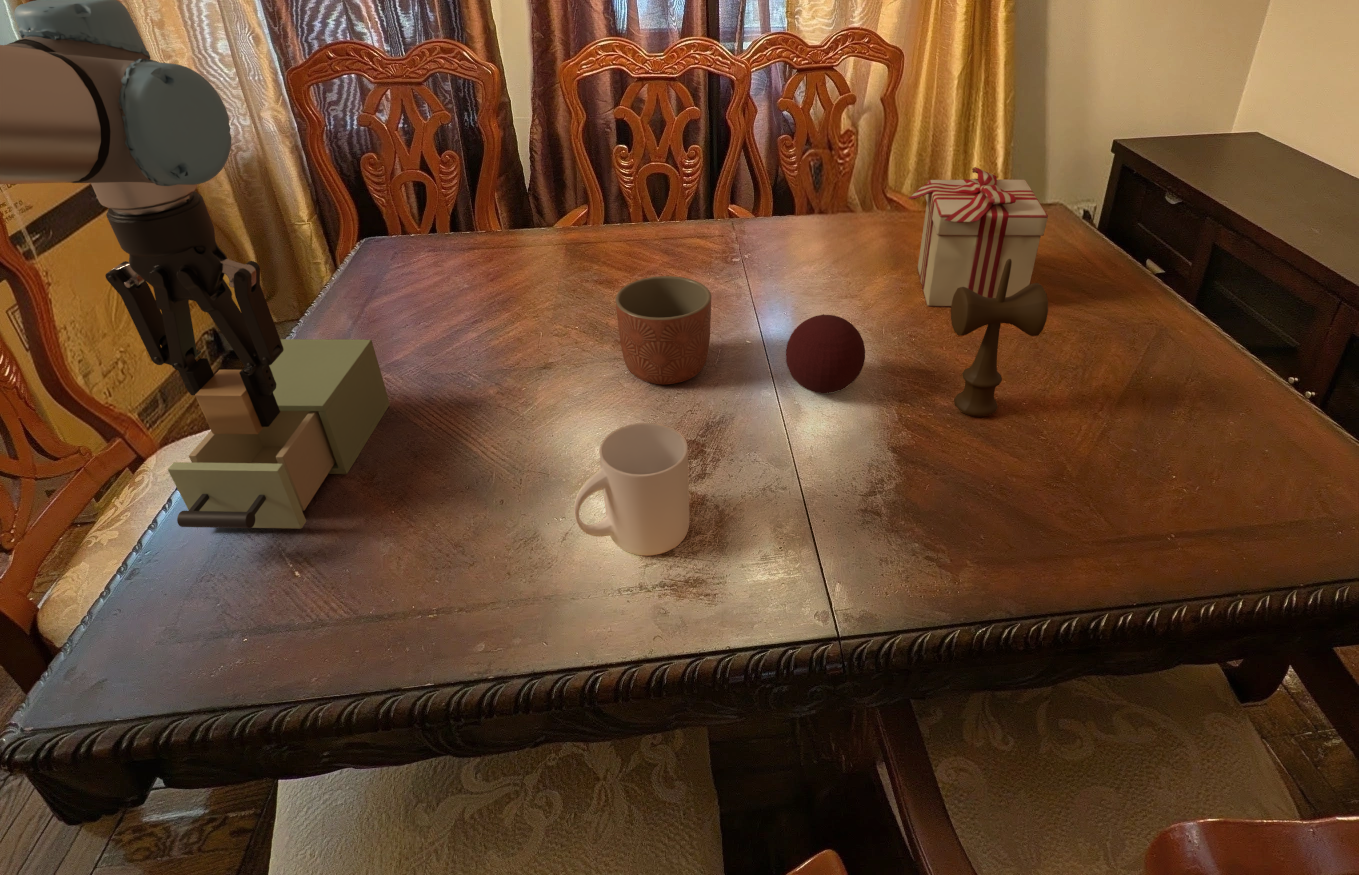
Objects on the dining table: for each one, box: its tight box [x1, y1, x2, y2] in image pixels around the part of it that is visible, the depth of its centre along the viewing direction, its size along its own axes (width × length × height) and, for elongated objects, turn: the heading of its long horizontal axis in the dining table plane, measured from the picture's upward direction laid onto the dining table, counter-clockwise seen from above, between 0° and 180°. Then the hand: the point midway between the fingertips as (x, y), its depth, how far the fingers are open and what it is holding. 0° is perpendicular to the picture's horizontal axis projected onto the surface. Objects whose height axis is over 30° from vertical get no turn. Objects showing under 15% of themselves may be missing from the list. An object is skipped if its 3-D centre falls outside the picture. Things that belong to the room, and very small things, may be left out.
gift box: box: [907, 166, 1049, 308], centre depth 122 cm, size 17×18×17 cm
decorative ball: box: [785, 314, 866, 395], centre depth 102 cm, size 10×10×10 cm
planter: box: [614, 275, 712, 385], centre depth 106 cm, size 12×12×11 cm
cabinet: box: [269, 338, 391, 475], centre depth 96 cm, size 15×13×10 cm
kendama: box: [950, 259, 1049, 418], centre depth 94 cm, size 6×10×20 cm, turn 90°
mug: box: [573, 422, 691, 556], centre depth 80 cm, size 9×12×11 cm
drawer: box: [167, 411, 336, 530], centre depth 86 cm, size 18×11×8 cm, turn 177°
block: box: [194, 369, 263, 434], centre depth 82 cm, size 5×5×5 cm
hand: (245, 418), depth 83 cm, fingers closed on block, 5 cm apart
